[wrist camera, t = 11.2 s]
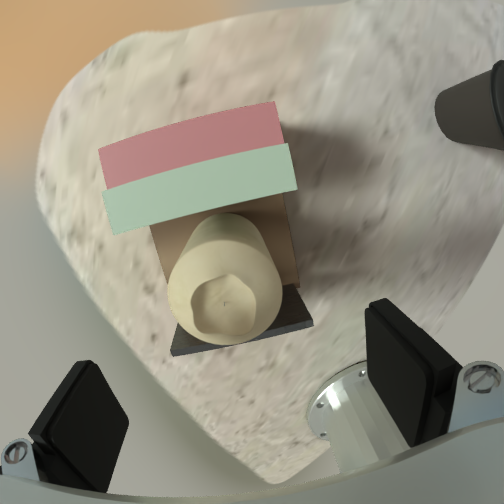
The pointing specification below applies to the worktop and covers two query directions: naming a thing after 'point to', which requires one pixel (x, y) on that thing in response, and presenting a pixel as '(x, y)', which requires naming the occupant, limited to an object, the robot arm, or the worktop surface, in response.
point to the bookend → (287, 320)
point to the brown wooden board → (256, 211)
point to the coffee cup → (474, 109)
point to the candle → (225, 282)
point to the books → (196, 167)
